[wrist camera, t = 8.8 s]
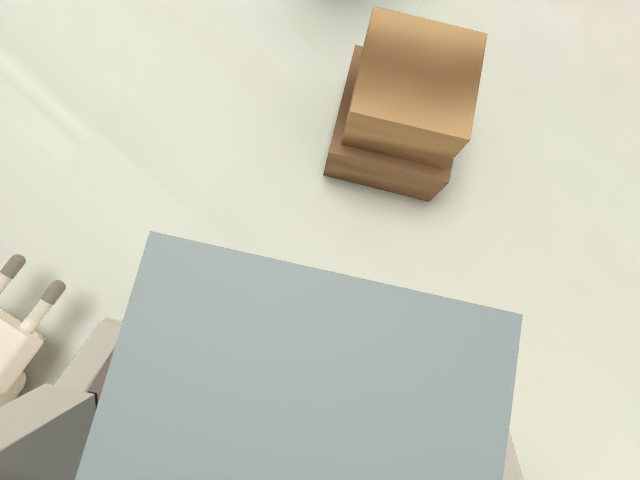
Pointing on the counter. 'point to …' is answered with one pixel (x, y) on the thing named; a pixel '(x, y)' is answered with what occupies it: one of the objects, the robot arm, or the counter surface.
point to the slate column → (298, 376)
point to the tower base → (379, 158)
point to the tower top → (415, 88)
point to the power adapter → (20, 333)
